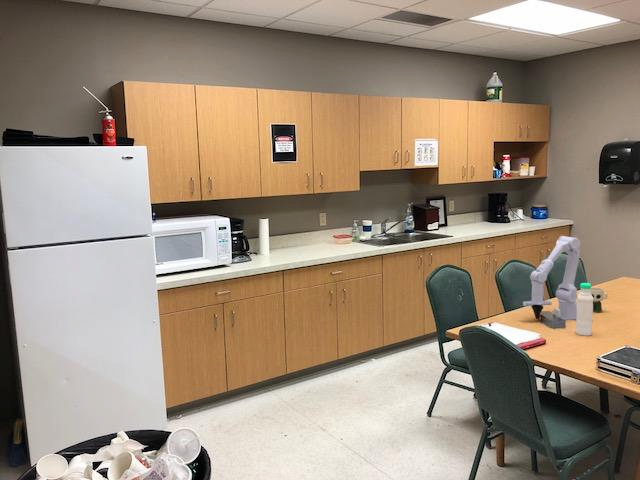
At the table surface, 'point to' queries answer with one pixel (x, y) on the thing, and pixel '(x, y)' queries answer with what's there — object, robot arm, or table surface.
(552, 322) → the block
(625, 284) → the table surface
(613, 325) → the table surface
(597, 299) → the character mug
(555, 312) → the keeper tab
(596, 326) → the table surface
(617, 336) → the table surface
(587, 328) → the water bottle
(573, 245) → the robot arm
